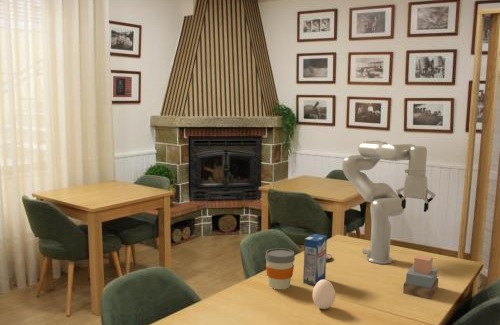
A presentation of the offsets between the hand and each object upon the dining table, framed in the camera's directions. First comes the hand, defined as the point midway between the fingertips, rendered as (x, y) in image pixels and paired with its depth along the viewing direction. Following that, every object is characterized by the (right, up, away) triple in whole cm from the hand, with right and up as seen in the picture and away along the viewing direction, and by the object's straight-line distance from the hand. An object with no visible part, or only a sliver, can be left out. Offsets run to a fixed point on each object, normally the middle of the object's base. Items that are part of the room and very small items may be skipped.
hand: (414, 209), depth 225 cm
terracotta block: (-2, -24, -18) cm, 30 cm away
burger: (-40, -27, +23) cm, 54 cm away
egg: (-47, -35, -36) cm, 69 cm away
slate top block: (-3, -29, -17) cm, 33 cm away
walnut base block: (-3, -33, -16) cm, 37 cm away
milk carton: (-47, -31, -8) cm, 57 cm away
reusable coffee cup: (-63, -32, -14) cm, 72 cm away
